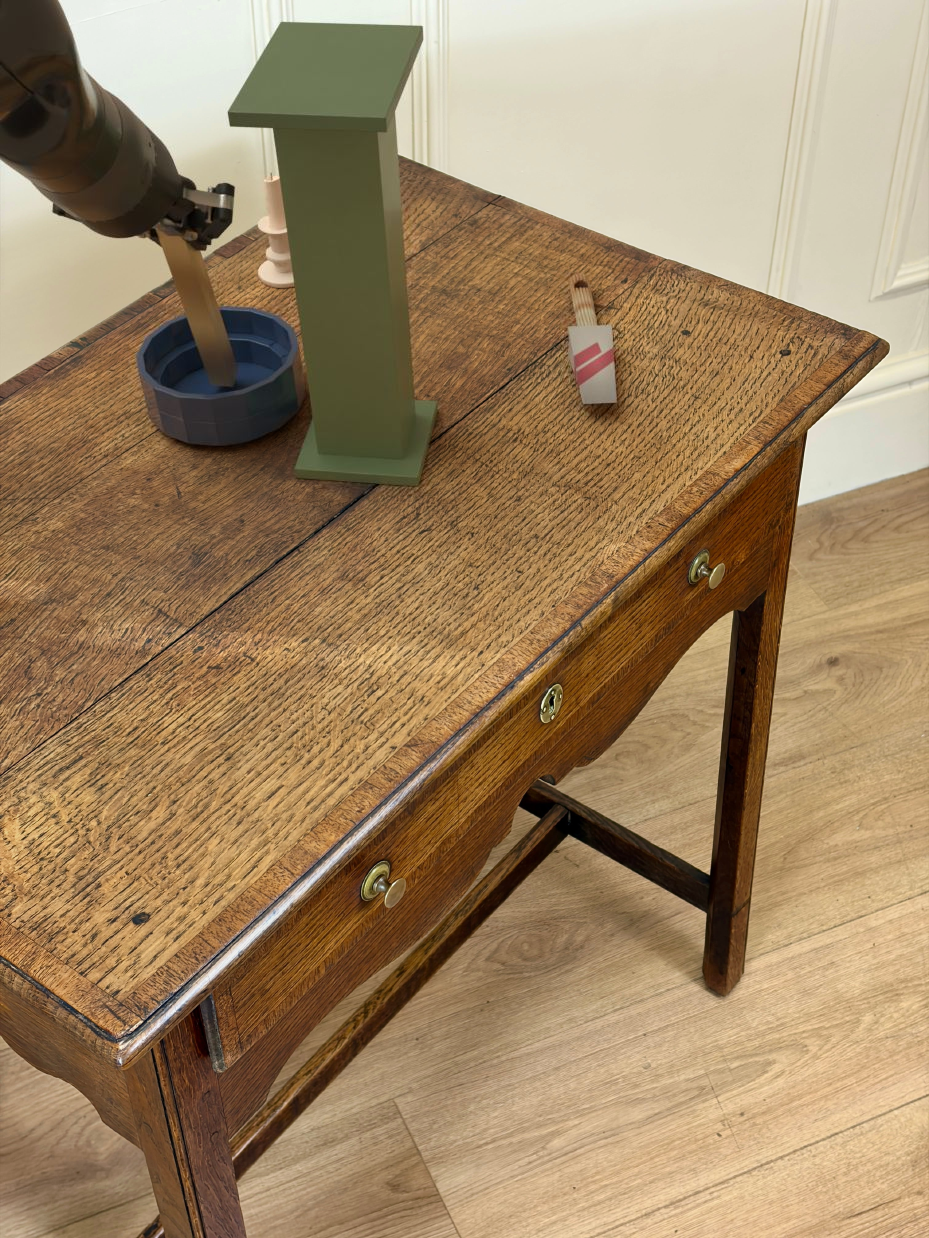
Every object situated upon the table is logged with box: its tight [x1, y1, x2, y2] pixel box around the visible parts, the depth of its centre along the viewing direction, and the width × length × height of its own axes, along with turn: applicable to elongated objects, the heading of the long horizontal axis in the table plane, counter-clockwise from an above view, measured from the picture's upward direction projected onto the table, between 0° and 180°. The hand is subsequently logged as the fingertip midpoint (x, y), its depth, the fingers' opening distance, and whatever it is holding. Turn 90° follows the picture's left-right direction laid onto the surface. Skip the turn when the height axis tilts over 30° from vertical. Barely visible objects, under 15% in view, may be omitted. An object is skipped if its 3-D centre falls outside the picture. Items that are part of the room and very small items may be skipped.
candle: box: [257, 172, 295, 289], centre depth 122 cm, size 5×5×10 cm
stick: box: [155, 228, 238, 387], centre depth 102 cm, size 21×2×2 cm
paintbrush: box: [567, 272, 618, 405], centre depth 114 cm, size 4×3×20 cm
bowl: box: [135, 305, 307, 447], centre depth 109 cm, size 13×13×6 cm
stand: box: [227, 21, 439, 487], centre depth 96 cm, size 10×14×31 cm
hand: (186, 236), depth 99 cm, fingers closed on stick, 2 cm apart
